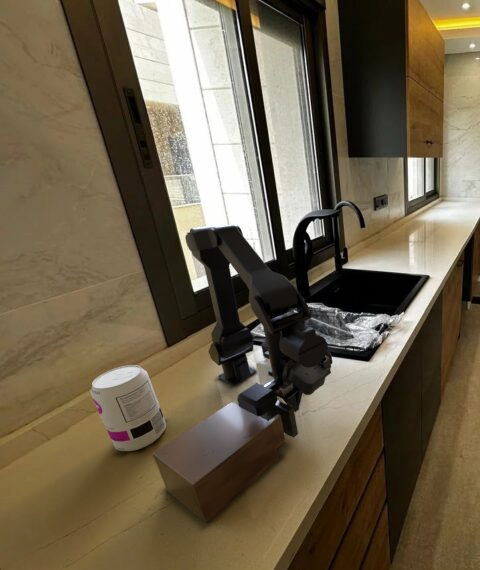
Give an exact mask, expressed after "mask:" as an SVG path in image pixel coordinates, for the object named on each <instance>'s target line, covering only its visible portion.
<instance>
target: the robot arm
mask: <svg viewBox="0 0 480 570" xmlns="http://www.w3.org/2000/svg"><path fill="white" fill-rule="evenodd" d="M184 239H185V243H186V246H187V248H188V250H189V251H190V252H191V255H192V256H193V257H194V258H195V259H196V260H197V261H198V262H199V263H201V265H202V266H203V267H204V272H205V276H206V281H207V285H208V290H209V295H210V298H211V303H212V307H213V311H214V316H215V320H216V323H215V326H214V328H213V329H212V332H211V333H210V334H211V335H210V336H211V341H212V343H211V344H210V346H209V348H208V355H209V357H210V360H212V361H213V362H214V363H215V364H216V365H217V366H221V368H222V373H221V374H219V375H218V377H217V378H218V379H219V380H221V381H223V382H226V383H228V384H229V385H232V386H236V385H237V384H239V383H240V382H242V381H244V380H245V379H247V378H249V377H250V376H252V375H253V374H255V373H257V371H256V370H257V369H255V368H252V367H250V365H249V361H248V357H247V354H248V353H251V352H254V335H253V333H252V332H251V330H250V329H249V328H248V327H247V326H246V325H244V323H242V322H241V320H240V315H239V310H238V303H237V299H236V294H235V289H234V283H233V279H232V272H231V269H230V268H231V267H232V268H233V269H234V270H235V272H236V274H237V275H238V276H239V278H241V280H242V281H243V282H244V284H245V285H246V287H247V288H248V290H249V291H248V292H249V294H248V302H249V304H250V308H251V310H252V313H253V314H254V315H255V317H256V318H257V320H258V321H259V323H260V324H261V325H262V327H263V332H264V333H263V334H264V338H265V340H266V343H267V348H268V351H267V352H265V353H264V354H265V358H268V359H270V363H271V368H272V369H270V370H269V371H268V374H269V376H272V377H273V378H274V380H272V381H271V382H269V383H268V384H266V385H265V386H263V385H261V384H260V383H259V382H256V383H253V384H252V385H251V386H249V387H247V388H246V389H244V390H243V391H241V392H240V393H238V395H237V399H236V400H237V405H239V407H241V408H243V409H244V410H246V411H248V412H250V413H252V414H254V415H256V416H262V415H264V414H265V413H266V412H268V411H269V410H270V409H272V408H273V407H274V406H275V405H276V403H277V401H279V400H278V399H281V400H282V402H283V403H285V404H287V405H289V406H291V407H293V408H294V413H297V412H298V411H299V410H300V406H301V403H302V402H301V401H302V397H303V394H304V395H305V396H311V395H312V394H314V393H315V391H316V390H318V389H320V388H321V387H322V386H324V384H325V381H326V378H327V377H329V375H331V374H332V371H331V368H332V364H333V354H331V352H330V351H328V349H329V345H328V341H327V340H326V338H325V337H324V336H323V335H320V334H318V333H317V332H316V329H315V328H314V327H312V326H308V325H307V324H306V321H308V320H311V319H313V318H312V317H313V316H312V315H311V313H310V311H309V310H310V307H309V305H308V303H307V302H306V300H305V298H304V297H303V296H302V294H301V293H300V291H299V289H298V288H297V286H295V285H294V284H293V283H292V282H291V281H290V280H289V279H288V278H287V277H286V276H284V275H283V274H281V273H278V272H276V271H272V270H271V269H270V268H269V266H268V265H267V264H266V263H265V262H264V260H263V259H262V258H261V257H260V255H259V254H258V253H257V251H256V250H255V249H254V248H253V247H252V245H251V244H250V243H249V242H248V240H247V239H246V238H245V236H244V234H243V231H242V229H241V227H240V226H239V225H237V224H234V223H233V224H232V223H231V224H226V225H225V224H223V223H222V224H215V225H214V224H213V225H206V226H200V227H192V228H190V229H189V232H187V234H186V235H185V238H184ZM230 265H231V267H230ZM296 310H297V312H294V311H296ZM291 312H294V313H291ZM288 313H291V314H289V315H287V314H288Z"/></svg>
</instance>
